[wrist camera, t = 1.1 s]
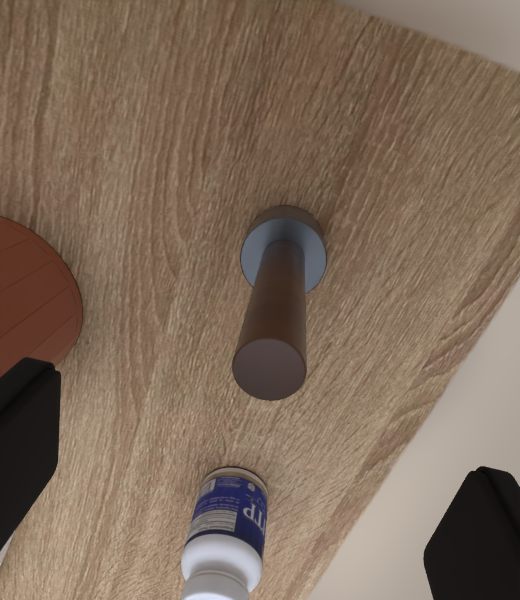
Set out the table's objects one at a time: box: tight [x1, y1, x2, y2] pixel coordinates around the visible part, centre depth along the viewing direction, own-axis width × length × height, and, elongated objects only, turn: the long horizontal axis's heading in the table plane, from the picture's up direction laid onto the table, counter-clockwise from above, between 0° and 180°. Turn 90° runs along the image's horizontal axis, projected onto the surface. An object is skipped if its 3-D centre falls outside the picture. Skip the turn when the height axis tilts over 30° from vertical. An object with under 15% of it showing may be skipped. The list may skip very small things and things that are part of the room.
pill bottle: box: [181, 468, 268, 600], centre depth 28 cm, size 5×5×9 cm
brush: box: [232, 205, 327, 401], centre depth 18 cm, size 4×4×13 cm
